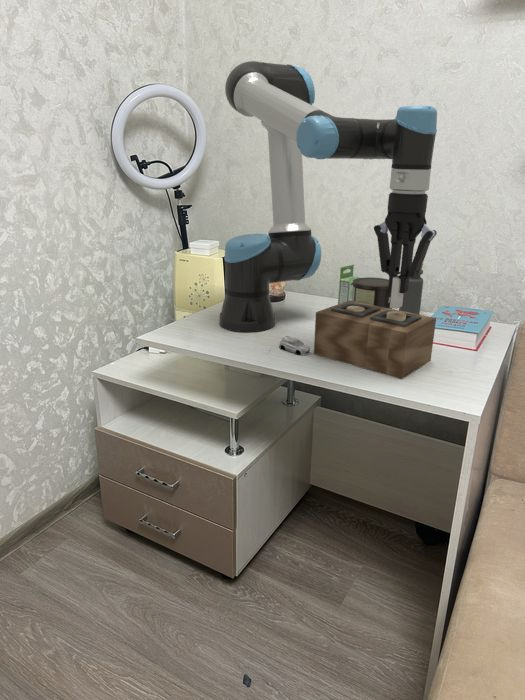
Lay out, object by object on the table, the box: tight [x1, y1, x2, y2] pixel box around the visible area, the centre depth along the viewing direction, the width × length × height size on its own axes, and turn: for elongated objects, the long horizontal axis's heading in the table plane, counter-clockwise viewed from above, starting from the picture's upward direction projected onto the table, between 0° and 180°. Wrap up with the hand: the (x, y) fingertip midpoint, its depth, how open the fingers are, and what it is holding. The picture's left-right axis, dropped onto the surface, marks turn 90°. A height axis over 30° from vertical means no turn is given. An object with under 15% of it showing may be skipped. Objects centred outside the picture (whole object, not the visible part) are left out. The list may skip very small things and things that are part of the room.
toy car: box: [278, 335, 312, 356], centre depth 123 cm, size 4×8×3 cm, turn 46°
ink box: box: [337, 264, 361, 305], centre depth 152 cm, size 7×4×13 cm, turn 136°
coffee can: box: [352, 276, 393, 309], centre depth 132 cm, size 10×10×14 cm
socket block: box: [313, 300, 437, 380], centre depth 118 cm, size 22×14×11 cm, turn 49°
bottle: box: [398, 263, 424, 315], centre depth 150 cm, size 6×6×15 cm
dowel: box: [386, 311, 406, 322], centre depth 114 cm, size 4×4×9 cm
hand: (395, 306), depth 112 cm, fingers closed
